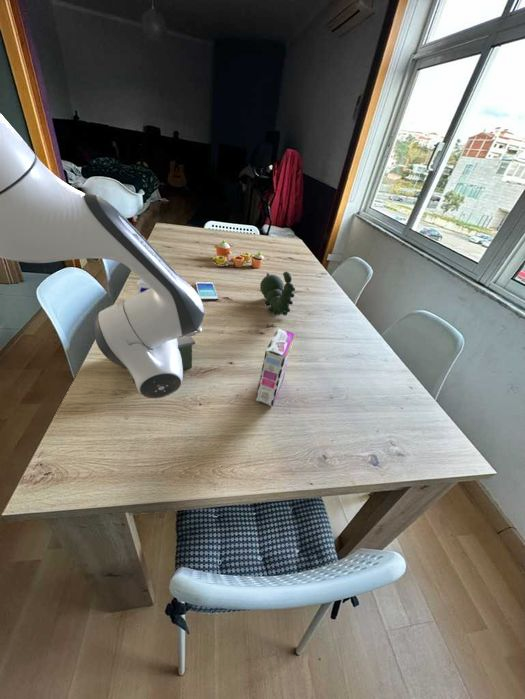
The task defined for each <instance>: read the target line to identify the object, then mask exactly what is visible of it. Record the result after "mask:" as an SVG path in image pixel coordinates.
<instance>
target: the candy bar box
mask: <svg viewBox="0 0 525 699" xmlns="http://www.w3.org/2000/svg"><path fill="white" fill-rule="evenodd" d="M295 338H296V333H294V332H291V331H288V330H286V329H285V330H284V329H281V328H278V329H277V330H276V332H275V333H274V335H273V336H272V339H271V340H270V342H269V343H268V345H267V347H266V348H265V352H264V357H263V361H262V362H263V363H262V366H261V367H262V368H261V371H260V377H259V381H258V386H257V391H256V397H255V402H258V403H260V404H264V405H266V406H268V407H274V404H275V402H276V399H277V396H278V394H279V393H280V390H281V387H282V384H283V383H284V379H285V375H286V371H287V368H288V363H289V360H290V356H291V353H292V348H293V345H294V341H295Z"/></svg>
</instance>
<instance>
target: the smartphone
mask: <svg viewBox="0 0 525 699" xmlns="http://www.w3.org/2000/svg"><path fill="white" fill-rule="evenodd" d="M195 287H196V292H197V294H198V295H199V297H200V299H201V301H219V296H218V294H217V290H216V288H215V285H214V282H212V281H196V282H195Z"/></svg>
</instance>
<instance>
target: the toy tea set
mask: <svg viewBox="0 0 525 699" xmlns="http://www.w3.org/2000/svg"><path fill="white" fill-rule="evenodd" d="M214 248H215V251H216V256H213V257H212V261H216V262H215V263H216V264H215V263H214V262H213V264H214V265H216V266H218V267H226V266H227V267H228V266H229V257H230V255H232V251H231V250H232V249H231V248H232V247H231V246H230V244H229V243H227V242H226V240H225V239H223V240H222V241H221V242H219V243H218V244H215V245H214ZM264 259H265V256H264V255H263V254H262V252H261V251H258V252H257V253H256V254H254V255H253V254H250V253H249V252H245V251H243V252H240V253H239V255H234V256H233V257H232V258H231V261H232V263H233V267H236V268H242V267H243V265H246V264H247V263H250V262H251V266H252V268H255V269H260V268H261V267H262V264H263V260H264ZM217 264H219V265H217Z"/></svg>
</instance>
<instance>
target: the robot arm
mask: <svg viewBox="0 0 525 699" xmlns="http://www.w3.org/2000/svg"><path fill="white" fill-rule="evenodd" d="M0 259H5V260H9V261H12V262H20V263H26V264H27V263H28V264H46V263H55V262H61V261H62V262H63V261H72V260H86V259H94V260H95V259H97V260H98V259H100V260H109V261H114V262H118V263H120V264H122V265H124V266H125V267H127V268H128V269H129V270H130V271H131V272H132V273H134V274H135V275H136V276H137V277H138V278H139V280H140V279H142V280H143V281H144V282H145V283H146V284H147V285H148V286H149V287H150V289H148V290H145V291H143V292H141V293H139V294H138V293H137V294H135V295H133V296H130V297H128V298H126V299H123V300H121V301H118V302H116V303H114V304H111V305H110V306H108V307H106V308H104V309H102V310H100V311H98V312H97V314H96V316H95V320H94V325H93V326H94V329H93V330H94V331H93V332H94V339H95V340H94V341H95V342H96V345H97V347H98V349H99V350H100V352H101V353H102V355H104V357H105V358H107V359H108V360H109V361H110V362H112V363H113V364H115V365H116V366H119V368H123V369H124V370H127V371H128V370H129V371H130V373H131V374H132V376H133V378H134V381H135V383H134V384H135V387H136V389H137V391H138V392H139V393H140V395H141V396H142V397H145V398H148V399H161V398H165V397H167V396H170V395H172V394H174V393H175V392H177V391H178V390H179V389H180V387H181V386H182V384H183V379H184V370H183V367H182V359H181V354H180V351H179V349H178V341H177V338H178V337H184V336H191V337H193V336H197V335H198V334H200V333H202V331H203V328H202V326H201V325H202V322H203V320H204V317H205V314H206V312H205V308H204V304H203V300H201V299H200V297H199V295H198V292H197V290H195V288H194V287H192V285H190V284H189V283H188V282H187V280H185V279H184V278H183V277H182V276H181V275H180V274H179V273H177V272H176V270H174V268H172V266H171V265H170V264H169V263H168V262H167V261H166V260H165V258H163V256H161V254H160V253H159V252H158V251H157V250H156V249H155V248H154V247H153V246H152V244H151V243H150V242H149V241H148V240H147V239H146V238H145V237H144V236H143V234H141V233H140V232H139V231H138V230H137V229H136V227H135V226H134V225H133V224H132V223H131V222H130V221H129V220H128V219H127V218H126V217H125V216H124V214H122V213H121V212H120V211H119V210H118V209H117V208H116V207H115V206H114V205H113V204H111V203H110V202H109V201H108V200H106V199H105V198H104V197H103V196H101V195H99V194H93V193H85V192H83V191H81V190H78V189H77V188H75V187H73V186H71V185H70V184H68V183H67V182H65V181H64V180H62V179H61V178H60V177H59V176H57V175H56V174H55V173H53V172H52V171H51V169H49V168H48V167H47V166H46V165H45V164H44V163H43V162H42V161H41V159H40V158H39V157H38V156H37V155H36V154H35V152H34V151H33V150H32V149H31V147H30V146H29V145H28V143H27V142H26V141H25V140H24V139H23V137H22V136H21V135H20V134H19V133H18V132H17V130H16V129H15V128H14V127H13V126H12V124H10V123H9V121H8V120H7V119H6V118H5V116H3V114H2V113H1V112H0ZM129 371H128V372H129Z"/></svg>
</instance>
